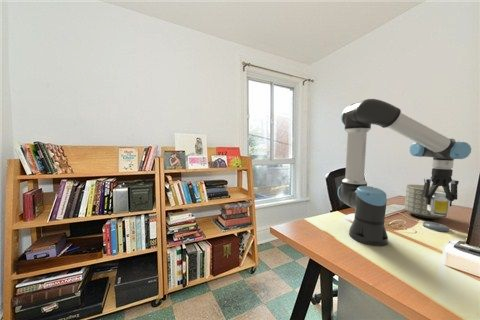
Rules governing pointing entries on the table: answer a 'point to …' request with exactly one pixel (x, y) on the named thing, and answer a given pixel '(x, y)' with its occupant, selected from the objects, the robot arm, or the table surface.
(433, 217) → the planter
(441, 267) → the table surface
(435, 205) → the pill bottle
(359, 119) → the robot arm
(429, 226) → the coaster
